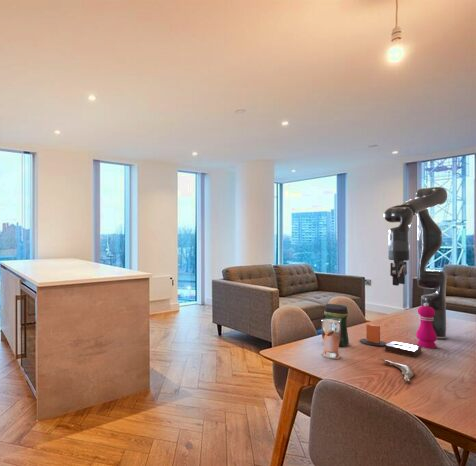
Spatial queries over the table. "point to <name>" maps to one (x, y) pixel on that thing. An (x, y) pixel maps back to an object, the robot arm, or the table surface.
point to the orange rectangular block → (373, 333)
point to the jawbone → (405, 369)
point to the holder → (403, 348)
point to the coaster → (373, 343)
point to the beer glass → (331, 338)
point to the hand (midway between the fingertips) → (398, 284)
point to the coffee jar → (338, 319)
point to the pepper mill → (426, 327)
